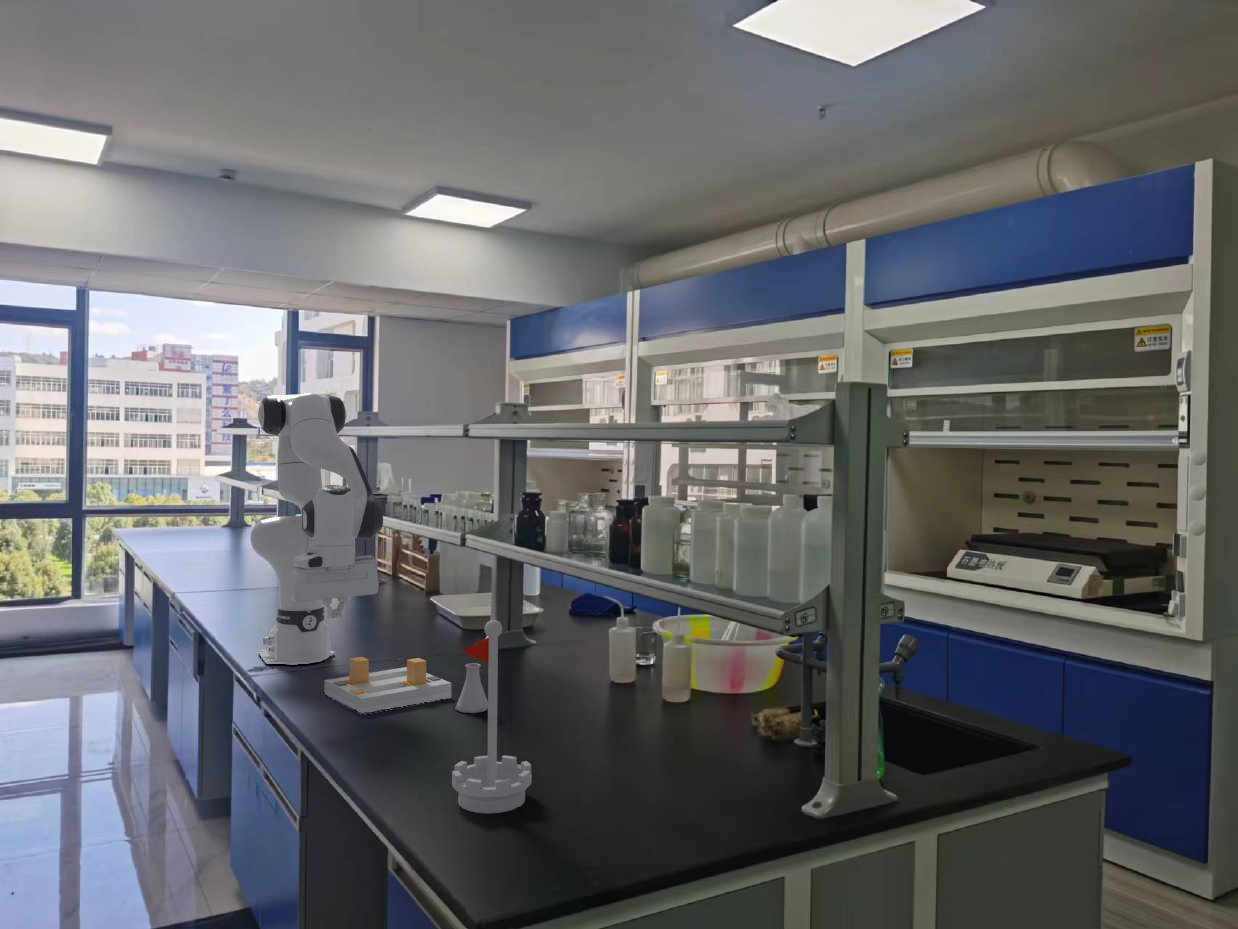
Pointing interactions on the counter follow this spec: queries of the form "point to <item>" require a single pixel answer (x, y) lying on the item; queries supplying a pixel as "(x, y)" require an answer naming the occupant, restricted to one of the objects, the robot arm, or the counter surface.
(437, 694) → the switch box
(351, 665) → the tab
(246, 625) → the counter surface
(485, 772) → the flag stand
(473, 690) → the flask
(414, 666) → the tab
